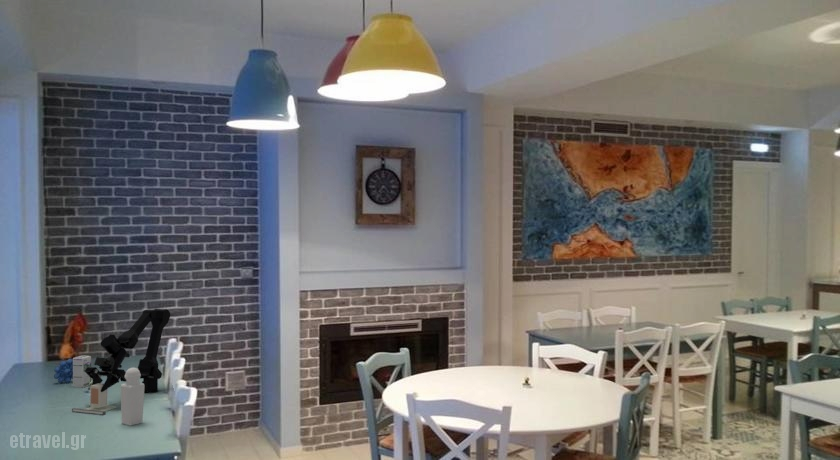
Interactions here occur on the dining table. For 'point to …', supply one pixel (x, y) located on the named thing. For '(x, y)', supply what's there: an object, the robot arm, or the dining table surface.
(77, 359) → the syrup box
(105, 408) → the pad
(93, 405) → the carton
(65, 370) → the grapes
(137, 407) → the grey bottle
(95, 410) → the rail
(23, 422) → the dining table surface
